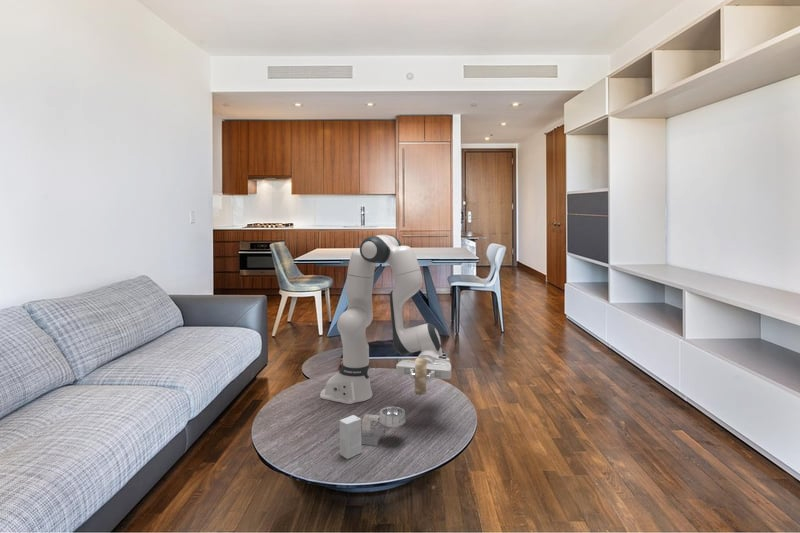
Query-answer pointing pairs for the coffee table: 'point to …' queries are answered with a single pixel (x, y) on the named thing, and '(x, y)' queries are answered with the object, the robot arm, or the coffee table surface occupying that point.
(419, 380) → the rail post
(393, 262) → the robot arm
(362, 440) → the cup bracket
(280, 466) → the coffee table surface
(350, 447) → the skincare box
